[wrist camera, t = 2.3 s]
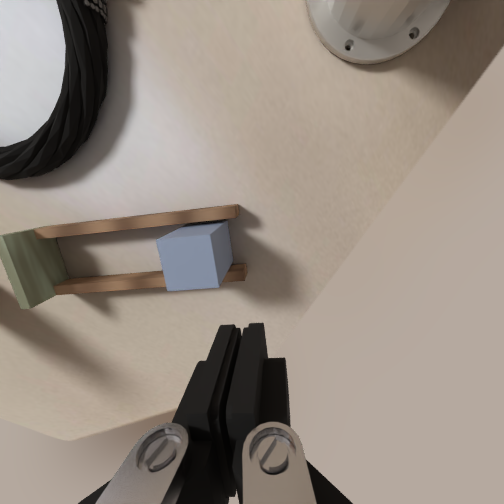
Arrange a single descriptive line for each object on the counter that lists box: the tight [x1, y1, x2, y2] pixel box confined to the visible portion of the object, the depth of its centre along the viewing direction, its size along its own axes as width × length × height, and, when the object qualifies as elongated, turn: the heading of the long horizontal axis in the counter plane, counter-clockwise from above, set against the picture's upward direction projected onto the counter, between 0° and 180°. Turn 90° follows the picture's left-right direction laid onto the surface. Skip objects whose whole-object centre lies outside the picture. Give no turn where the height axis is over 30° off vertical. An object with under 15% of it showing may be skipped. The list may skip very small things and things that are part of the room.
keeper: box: [156, 220, 233, 291], centre depth 27 cm, size 5×5×8 cm
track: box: [0, 204, 247, 309], centre depth 29 cm, size 25×8×6 cm, turn 97°
